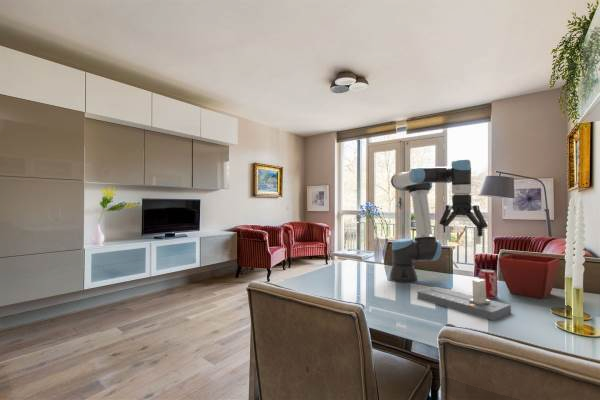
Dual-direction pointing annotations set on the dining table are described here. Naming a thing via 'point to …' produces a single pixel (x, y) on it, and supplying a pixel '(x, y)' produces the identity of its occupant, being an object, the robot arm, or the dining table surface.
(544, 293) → the plant pot
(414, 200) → the robot arm
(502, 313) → the fader console
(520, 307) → the dining table surface
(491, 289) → the soda can
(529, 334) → the dining table surface
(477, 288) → the block
